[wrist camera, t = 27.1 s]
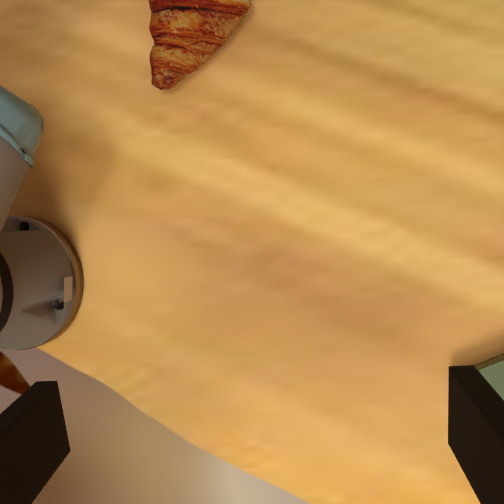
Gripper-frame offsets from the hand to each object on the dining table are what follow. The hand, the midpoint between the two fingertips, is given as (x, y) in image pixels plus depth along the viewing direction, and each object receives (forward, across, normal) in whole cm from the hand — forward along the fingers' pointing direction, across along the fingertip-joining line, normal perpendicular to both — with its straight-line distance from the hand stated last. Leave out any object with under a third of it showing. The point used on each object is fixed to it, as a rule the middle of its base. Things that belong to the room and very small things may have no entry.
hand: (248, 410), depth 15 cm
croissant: (+38, -5, +24) cm, 45 cm away
